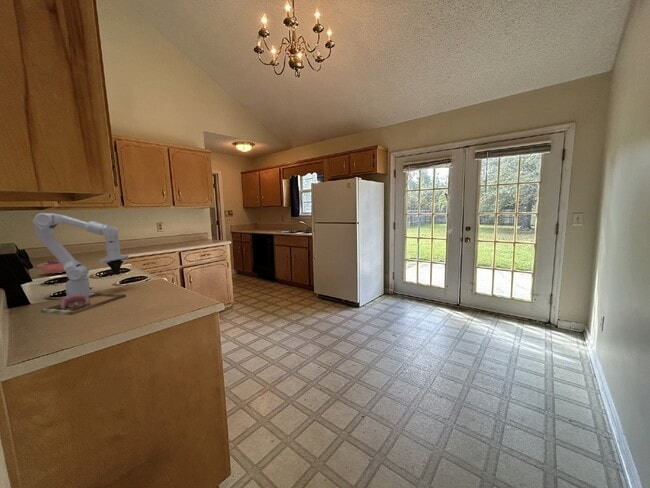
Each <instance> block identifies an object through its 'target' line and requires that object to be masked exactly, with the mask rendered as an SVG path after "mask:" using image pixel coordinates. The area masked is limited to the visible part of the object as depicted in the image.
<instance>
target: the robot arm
mask: <svg viewBox="0 0 650 488" xmlns="http://www.w3.org/2000/svg"><path fill="white" fill-rule="evenodd" d="M32 224H33V225H34V232H35V236H36V237H37V238H38V239H39V241H40V242H41V243H42V244H43V245H44V246H45V247H46V248H47V250H49V252H50V253H51V254H52V255H53V256H54V257H55V258H56V259H57V261H60V262H61V264H62V265H63V266H64V270H65V272H66V273H65V275H66V277H67V278H68V279H69V280H67V281H66V282H65V294H66V296H65V297H67V296H70V295H73V294H86V295H92V294H95V292H91V288H90V280H89V277H88V274H89V271H90V270H89V267H87V266H86V265H84V264H82V263H81V262H80V261H79V260H76V259H75V258H74V256H73V255H72V254H71V253H70V252H69V251H68V250H67V249H66V248H65V246H64V245H63V244H62V243H61V242H60V241H59V240H58V239H57V237H55V235H54V234H53V233H54V230H55V228H56V227H57V226H58V225H59V224H66V225H70V226H73V227H74V226H75V227H77V228H82V229H85V231H86V232H87V233H91V234H96V235H99V236H103V237H104V238H105V239H104V240H105V241H104V242H105V250H106V255H107V256H106V258H103V259H102V258H101V259H98V264H99V265H100V264H101V265H103V264H107V266H108V267H109V268H110V270H111V271H112V274H113V275H115V276H117V275H120V270H121V267H122V264H123V263H124V260H128V259H129V255H128V254H127V255H126V254H125V255H121V253H122V252H121V247H120V239H119V236H118V235H120V230H119V229H118V228H117V227H115V226H114V225H111V226H109V224H103V223H100V222H99V221H97V220H94V221H93V220H91V221H84V220H81V219H79V218H78V219H77V218H74V217H71V216H69V215H65V214H58V213H54V212H47V213H46V212H39V213H37V214H36V215H35V216H34V218H33V220H32Z"/></svg>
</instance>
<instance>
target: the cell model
mask: <svg viewBox="0 0 650 488" xmlns="http://www.w3.org/2000/svg"><path fill="white" fill-rule="evenodd" d="M36 266H37V268H38V269H39V270H40V271H41V272H42V273H44V274H47V275H50V274H49V273H60V272H65V270H64V266H63V265H62V264H61V262H60V261H59V260H55V261H54V260H51V261H50V260H47V262H44V263H39V264H37V265H36Z"/></svg>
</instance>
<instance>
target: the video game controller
mask: <svg viewBox="0 0 650 488" xmlns="http://www.w3.org/2000/svg"><path fill="white" fill-rule="evenodd" d="M66 296H67V295H66ZM66 296H64V297H63V298H62V299H61V302H60V304H61V309H60V310H66V305H67V306H68V307H67V308H69V309H72V308H75V307H76V303H77V306H81V305H85V306H86V307H87V306H90V305H91V300H90V299H91V298H89V296H88V295H86V294H73V295H70V296H67V297H66ZM78 300H79V301H78ZM73 301H78V302H76V303H73Z"/></svg>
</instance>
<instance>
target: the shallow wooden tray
mask: <svg viewBox="0 0 650 488" xmlns="http://www.w3.org/2000/svg"><path fill="white" fill-rule="evenodd" d="M94 293H95V292H94ZM88 296H89V298H90V299H92V298H94V297H98V296H99V297H112V298H108V299H105V300H102V301H100V302H96V303H93V304H90V305H89V306H87V305H86V304H84V305H81V306H79V305H77V306H74V307H72V308H69V307H68V306H67V305H66V308H68V309H66V308H65V310H61V303H59V304H55V305H51V306H48V307H45V308H40V312H41V313H48V314H49V313H50V314H60V315H71V316H72V315H76V314H79V313H82V312H84V311H85V312H86V311H87V310H91V309H93V308H96V307H101V306H103V305H105V304H108V303H112V302H115V301H117V300H119V299H123V298H125V297H127V296H126V294H124V293H111V292H110V293H109V292H96V293H95V294H92V295H88ZM78 301H79V300H78ZM78 301H73V303H74V304H76V303H78Z"/></svg>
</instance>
